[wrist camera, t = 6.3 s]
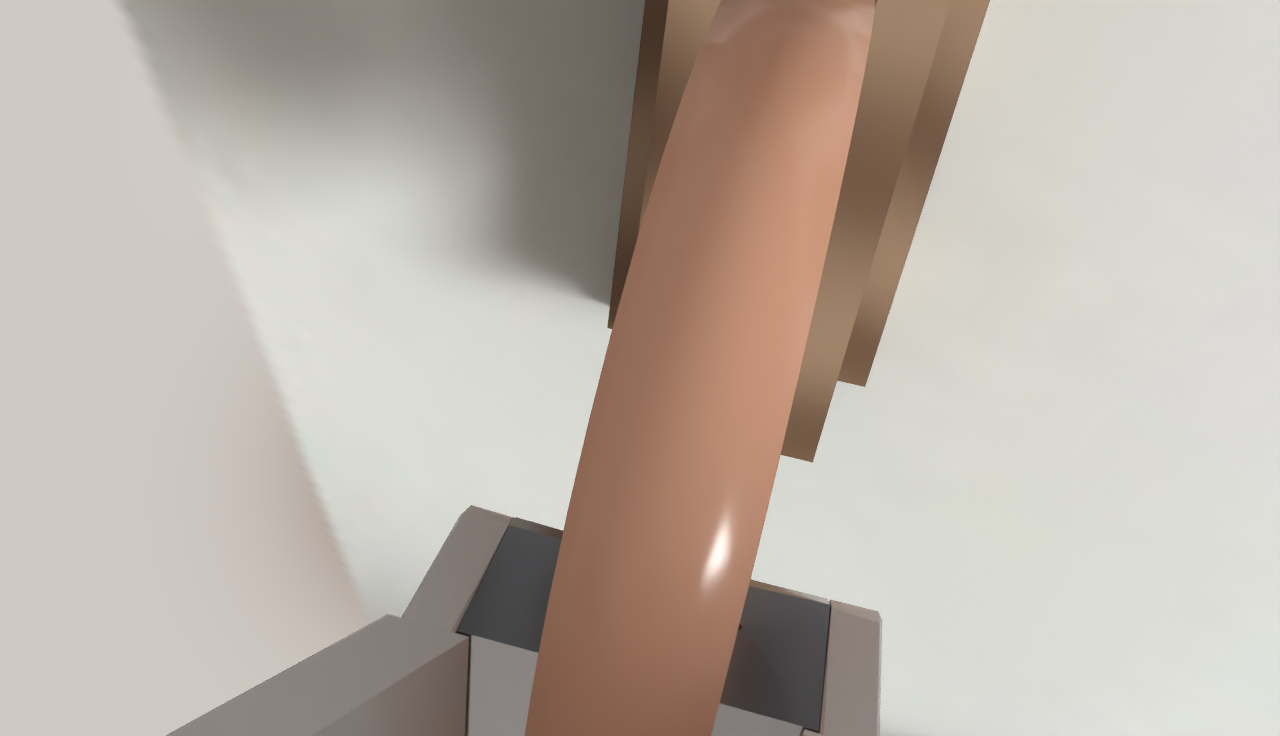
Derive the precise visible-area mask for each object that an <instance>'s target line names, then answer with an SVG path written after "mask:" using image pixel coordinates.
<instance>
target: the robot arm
mask: <svg viewBox="0 0 1280 736" xmlns="http://www.w3.org/2000/svg"><path fill="white" fill-rule="evenodd" d="M562 535H563V531H562V530H559V529H555V528H552V527H548V526H545V525H541V524H538V523H534V522H531V521H527V520H524V519H520V518H517V517H516V518H514V517H510V516H507V515H503V514H500V513H496V512H493V511H489V510H486V509H483V508H479V507H476V506H472V505H471V506H470V507H469V508H467V509H466V510H465V511H464V512H463V513H462V514H461V515H460V517H459V518H458V520H457V522H456V523H455V525H454V527H453V529H452V530H451V532H450V534H449V536H448V537H447V539H446V541H445V543H444V544H443V546H442V548H441V550H440V551H439V553H438V555H437V557H436V558H435V560H434V562H433V563H432V565H431V567H430V569H429V570H428V572H427V574H426V576H425V577H424V579H423V581H422V583H421V584H420V586H419V588H418V590H417V591H416V593H415V595H414V597H413V598H412V600H411V602H410V604H409V605H408V607H407V609H406V610H405V612H404V614H403V616H402V617H397V616H393V615H389V614H387V615H385V616H384V617H382V618H380V619H378V620H376V621H374V622H373V623H371V624H369V625H367V626H365V627H364V628H362V629H360V630H358V631H356V632H354V633H352V634H351V635H349V636H347V637H345V638H343V639H342V640H340V641H338V642H336V643H334V644H332V645H331V646H329V647H327V648H325V649H323V650H321V651H320V652H318V653H316V654H314V655H312V656H311V657H309V658H307V659H305V660H303V661H302V662H299V663H298V664H296V665H294V666H292V667H290V668H288V669H287V670H285V671H283V672H281V673H279V674H278V675H276V676H274V677H272V678H270V679H269V680H266V681H265V682H263V683H261V684H259V685H257V686H255V687H254V688H252V689H250V690H248V691H246V692H244V693H243V694H241V695H239V696H237V697H235V698H233V699H232V700H230V701H228V702H226V703H224V704H222V705H221V706H219V707H217V708H215V709H213V710H211V711H210V712H208V713H206V714H205V715H202V716H201V717H199V718H197V719H195V720H193V721H191V722H190V723H188V724H186V725H184V726H182V727H180V728H179V729H177V730H175V731H173V732H171V733H169V734H168V735H167V736H525V729H526V723H527V717H528V710H529V704H530V698H531V692H532V685H533V680H534V675H535V670H536V664H537V659H538V654H539V648H540V643H541V638H542V633H543V627H544V622H545V617H546V611H547V606H548V601H549V596H550V592H551V587H552V582H553V578H554V573H555V568H556V564H557V559H558V554H559V550H560V545H561V540H562ZM881 645H882V619H881V617H880V615H879V612H877V611H873V610H869V609H865V608H861V607H857V606H853V605H849V604H845V603H841V602H837V601H833V600H830V601H828V599H826V598H822V597H818V596H814V595H810V594H806V593H802V592H798V591H794V590H790V589H786V588H782V587H778V586H774V585H770V584H766V583H762V582H758V581H754V580H750V583H749V587H748V591H747V595H746V599H745V603H744V607H743V611H742V615H741V619H740V623H739V627H738V631H737V635H736V640H735V644H734V648H733V652H732V656H731V660H730V664H729V667H728V671H727V675H726V679H725V683H724V687H723V691H722V695H721V699H720V703H719V707H718V711H717V715H716V718H715V722H714V726H713V730H712V734H711V736H879V735H880V690H881Z"/></svg>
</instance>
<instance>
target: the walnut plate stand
mask: <svg viewBox="0 0 1280 736" xmlns="http://www.w3.org/2000/svg"><path fill="white" fill-rule="evenodd" d="M721 1H722V0H645V8H644V16H643V25H642V34H641V42H640V51H639V60H638V68H637V77H636V86H635V94H634V103H633V112H632V120H631V129H630V138H629V146H628V155H627V164H626V172H625V181H624V190H623V198H622V207H621V216H620V224H619V233H618V242H617V250H616V259H615V268H614V276H613V285H612V294H611V302H610V311H609V320H608V328H610V329H613V325H614V321H615V317H616V314H617V310H618V307H619V303H620V299H621V296H622V292H623V289H624V285H625V282H626V278H627V274H628V271H629V267H630V264H631V260H632V256H633V253H634V249H635V246H636V242H637V238H638V235H639V232H640V228H641V225H642V222H643V218H644V215H645V212H646V209H647V205H648V202H649V199H650V195H651V192H652V189H653V185H654V182H655V179H656V176H657V172H658V169H659V166H660V162H661V159H662V156H663V153H664V150H665V147H666V144H667V141H668V138H669V135H670V132H671V129H672V126H673V123H674V120H675V117H676V114H677V111H678V108H679V105H680V102H681V99H682V96H683V93H684V90H685V88H686V85H687V82H688V80H689V77H690V74H691V72H692V69H693V66H694V64H695V61H696V59H697V56H698V53H699V51H700V48H701V45H702V43H703V40H704V38H705V36H706V33H707V31H708V29H709V27H710V24H711V22H712V20H713V18H714V15H715V13H716V11H717V9H718V6H719V4H720V3H721ZM989 2H990V0H875V12H874V19H873V26H872V33H871V39H870V44H869V50H868V56H867V61H866V67H865V72H864V77H863V82H862V87H861V92H860V98H859V103H858V108H857V113H856V118H855V123H854V128H853V132H852V137H851V142H850V147H849V151H848V156H847V161H846V166H845V170H844V175H843V180H842V185H841V189H840V194H839V199H838V203H837V208H836V212H835V217H834V222H833V226H832V231H831V235H830V240H829V244H828V249H827V253H826V258H825V263H824V267H823V272H822V276H821V281H820V285H819V289H818V294H817V298H816V303H815V307H814V311H813V316H812V320H811V325H810V329H809V333H808V338H807V342H806V347H805V351H804V355H803V360H802V364H801V369H800V373H799V377H798V381H797V386H796V390H795V394H794V399H793V403H792V407H791V411H790V416H789V420H788V424H787V428H786V433H785V437H784V441H783V446H782V450H781V454H780V455H784V456H789V457H793V458H797V459H801V460H805V461H809V462H813V459H814V456H815V452H816V449H817V446H818V442H819V439H820V436H821V432H822V429H823V426H824V422H825V419H826V416H827V412H828V409H829V406H830V402H831V399H832V396H833V392H834V389H835V386H836V382H837V381H842V382H846V383H851V384H855V385H859V386H864V387H865V385H866V382H867V379H868V376H869V373H870V370H871V367H872V363H873V360H874V357H875V354H876V351H877V348H878V345H879V342H880V339H881V336H882V332H883V329H884V326H885V323H886V320H887V317H888V314H889V311H890V308H891V305H892V302H893V298H894V295H895V292H896V289H897V286H898V283H899V280H900V277H901V274H902V271H903V268H904V264H905V261H906V258H907V255H908V252H909V249H910V246H911V243H912V240H913V237H914V234H915V230H916V227H917V224H918V221H919V218H920V215H921V212H922V209H923V206H924V203H925V199H926V196H927V193H928V190H929V187H930V184H931V181H932V178H933V175H934V172H935V169H936V165H937V162H938V159H939V156H940V153H941V150H942V147H943V144H944V141H945V138H946V135H947V131H948V128H949V125H950V122H951V119H952V116H953V113H954V110H955V107H956V104H957V101H958V97H959V94H960V91H961V88H962V85H963V82H964V79H965V76H966V73H967V70H968V66H969V63H970V60H971V57H972V54H973V51H974V48H975V45H976V42H977V39H978V36H979V32H980V29H981V26H982V23H983V20H984V17H985V14H986V11H987V8H988V5H989Z"/></svg>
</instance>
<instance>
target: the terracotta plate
mask: <svg viewBox="0 0 1280 736" xmlns="http://www.w3.org/2000/svg"><path fill="white" fill-rule="evenodd" d="M874 12H875V0H722V1H721V3H720V4H719V6H718V9H717V11H716V13H715V15H714V18H713V20H712V22H711V24H710V27H709V29H708V31H707V33H706V36H705V38H704V40H703V43H702V45H701V48H700V51H699V53H698V56H697V59H696V61H695V64H694V66H693V69H692V72H691V74H690V77H689V80H688V82H687V85H686V88H685V90H684V93H683V96H682V99H681V102H680V105H679V108H678V111H677V114H676V117H675V120H674V123H673V126H672V129H671V132H670V135H669V138H668V141H667V144H666V147H665V150H664V153H663V156H662V159H661V162H660V166H659V169H658V172H657V176H656V179H655V182H654V185H653V189H652V192H651V195H650V199H649V202H648V205H647V209H646V212H645V215H644V218H643V222H642V225H641V228H640V232H639V235H638V238H637V242H636V246H635V249H634V253H633V256H632V260H631V264H630V267H629V271H628V274H627V278H626V282H625V285H624V289H623V292H622V296H621V299H620V303H619V307H618V310H617V314H616V317H615V321H614V325H613V329H612V333H611V336H610V340H609V344H608V348H607V352H606V356H605V360H604V364H603V368H602V372H601V375H600V379H599V383H598V387H597V391H596V395H595V399H594V403H593V407H592V411H591V414H590V419H589V423H588V427H587V431H586V436H585V440H584V444H583V448H582V453H581V457H580V461H579V465H578V470H577V474H576V478H575V482H574V487H573V491H572V495H571V499H570V504H569V508H568V512H567V517H566V521H565V526H564V531H563V535H562V540H561V545H560V550H559V554H558V559H557V564H556V568H555V573H554V578H553V582H552V587H551V592H550V596H549V601H548V606H547V611H546V617H545V622H544V627H543V633H542V638H541V643H540V648H539V654H538V659H537V664H536V670H535V675H534V680H533V685H532V692H531V698H530V704H529V710H528V717H527V723H526V729H525V736H711V734H712V730H713V726H714V722H715V718H716V715H717V711H718V707H719V703H720V699H721V695H722V691H723V687H724V683H725V679H726V675H727V671H728V667H729V664H730V660H731V656H732V652H733V648H734V644H735V640H736V635H737V631H738V627H739V623H740V619H741V615H742V611H743V607H744V603H745V599H746V595H747V591H748V587H749V583H750V579H751V575H752V571H753V567H754V563H755V558H756V554H757V550H758V546H759V542H760V538H761V533H762V529H763V525H764V521H765V517H766V513H767V509H768V504H769V500H770V496H771V492H772V488H773V484H774V479H775V475H776V471H777V467H778V463H779V458H780V454H781V450H782V446H783V441H784V437H785V433H786V428H787V424H788V420H789V416H790V411H791V407H792V403H793V399H794V394H795V390H796V386H797V381H798V377H799V373H800V369H801V364H802V360H803V355H804V351H805V347H806V342H807V338H808V333H809V329H810V325H811V320H812V316H813V311H814V307H815V303H816V298H817V294H818V289H819V285H820V281H821V276H822V272H823V267H824V263H825V258H826V253H827V249H828V244H829V240H830V235H831V231H832V226H833V222H834V217H835V212H836V208H837V203H838V199H839V194H840V189H841V185H842V180H843V175H844V170H845V166H846V161H847V156H848V151H849V147H850V142H851V137H852V132H853V128H854V123H855V118H856V113H857V108H858V103H859V98H860V92H861V87H862V82H863V77H864V72H865V67H866V61H867V56H868V50H869V44H870V39H871V33H872V26H873V19H874Z"/></svg>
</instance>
